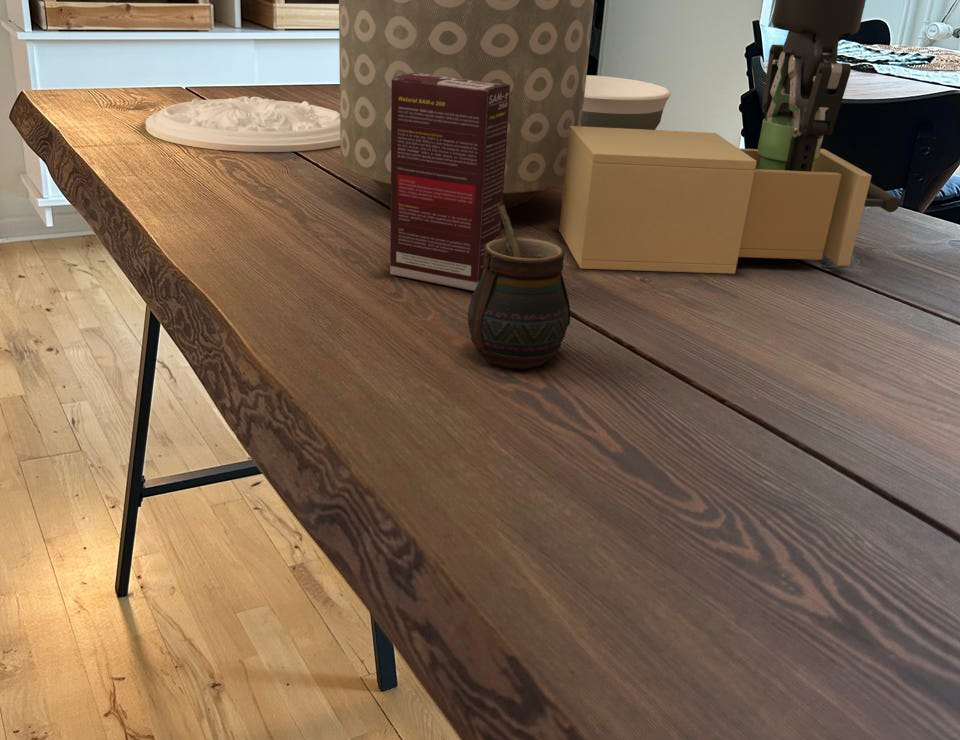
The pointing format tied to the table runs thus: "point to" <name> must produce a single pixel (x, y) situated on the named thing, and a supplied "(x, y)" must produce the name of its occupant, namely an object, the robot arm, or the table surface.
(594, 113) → the bowl
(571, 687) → the table surface
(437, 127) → the supplement box
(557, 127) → the planter
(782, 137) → the green stepped cylinder
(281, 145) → the ceiling medallion
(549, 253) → the mate gourd
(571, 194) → the cabinet
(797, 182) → the drawer
